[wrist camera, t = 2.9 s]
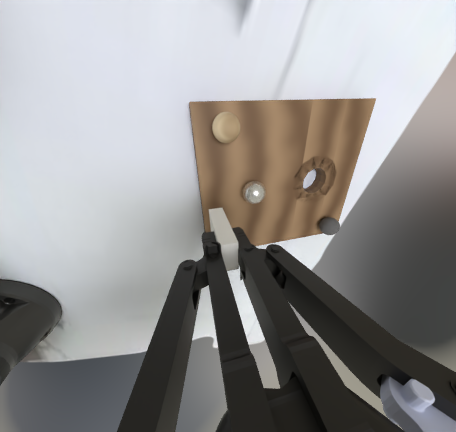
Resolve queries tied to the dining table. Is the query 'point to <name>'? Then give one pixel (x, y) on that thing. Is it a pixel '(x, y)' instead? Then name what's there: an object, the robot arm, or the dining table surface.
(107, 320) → the dining table surface
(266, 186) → the walnut plate
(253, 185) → the steel ball
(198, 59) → the dining table surface
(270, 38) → the dining table surface
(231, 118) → the beech ball
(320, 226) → the black rubber ball
